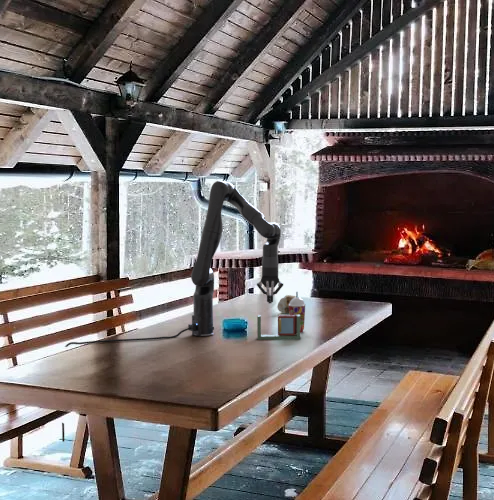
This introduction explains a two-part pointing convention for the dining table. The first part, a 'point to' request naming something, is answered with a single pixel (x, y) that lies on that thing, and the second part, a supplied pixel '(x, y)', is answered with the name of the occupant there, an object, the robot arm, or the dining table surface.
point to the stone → (285, 303)
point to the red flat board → (286, 325)
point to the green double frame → (278, 337)
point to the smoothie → (298, 309)
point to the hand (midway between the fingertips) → (269, 303)
